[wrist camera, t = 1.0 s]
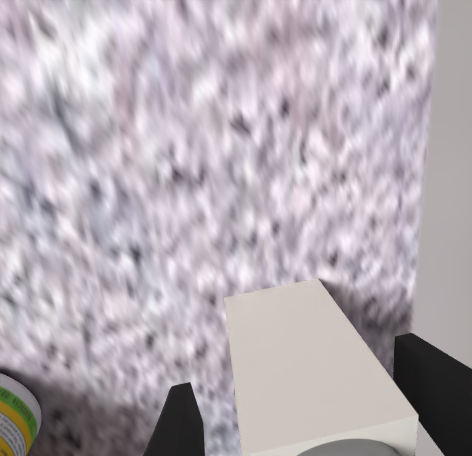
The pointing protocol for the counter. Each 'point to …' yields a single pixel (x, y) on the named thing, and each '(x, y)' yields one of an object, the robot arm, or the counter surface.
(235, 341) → the cream block with knob
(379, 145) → the counter surface
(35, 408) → the supplement bottle
